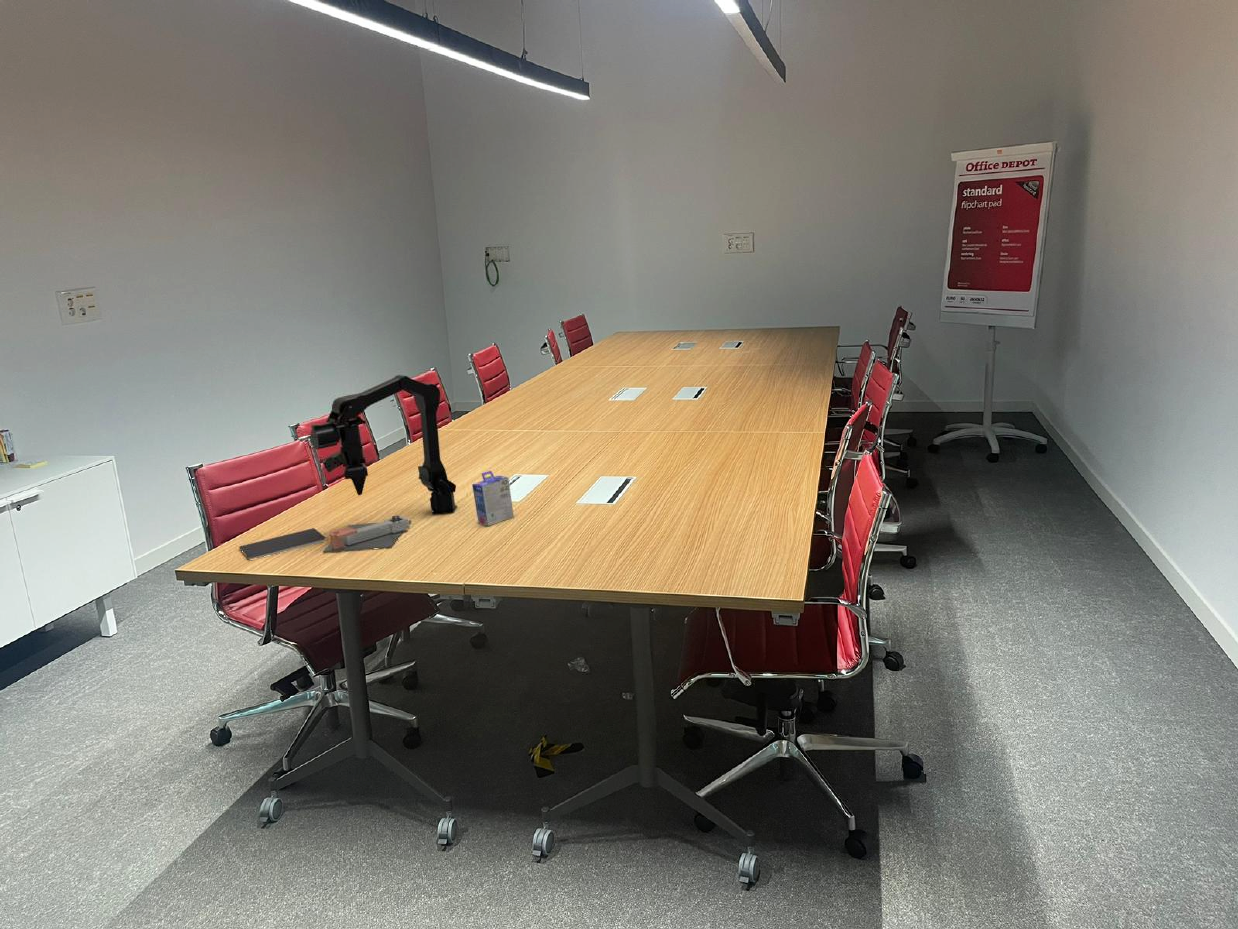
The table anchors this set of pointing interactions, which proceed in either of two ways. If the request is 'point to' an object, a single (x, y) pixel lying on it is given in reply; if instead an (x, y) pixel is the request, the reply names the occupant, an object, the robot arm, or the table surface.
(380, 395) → the robot arm
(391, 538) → the pintle plate
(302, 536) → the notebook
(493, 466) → the table surface
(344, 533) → the keeper
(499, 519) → the ink cartridge box
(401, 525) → the link
